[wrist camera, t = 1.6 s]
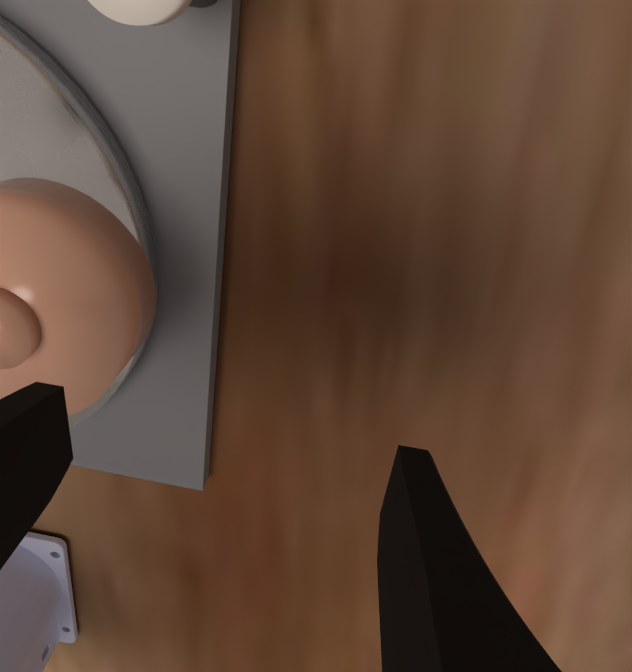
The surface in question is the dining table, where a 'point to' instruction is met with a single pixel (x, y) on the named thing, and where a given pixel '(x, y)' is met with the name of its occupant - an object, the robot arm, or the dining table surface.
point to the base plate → (158, 206)
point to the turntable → (65, 150)
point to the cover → (68, 291)
